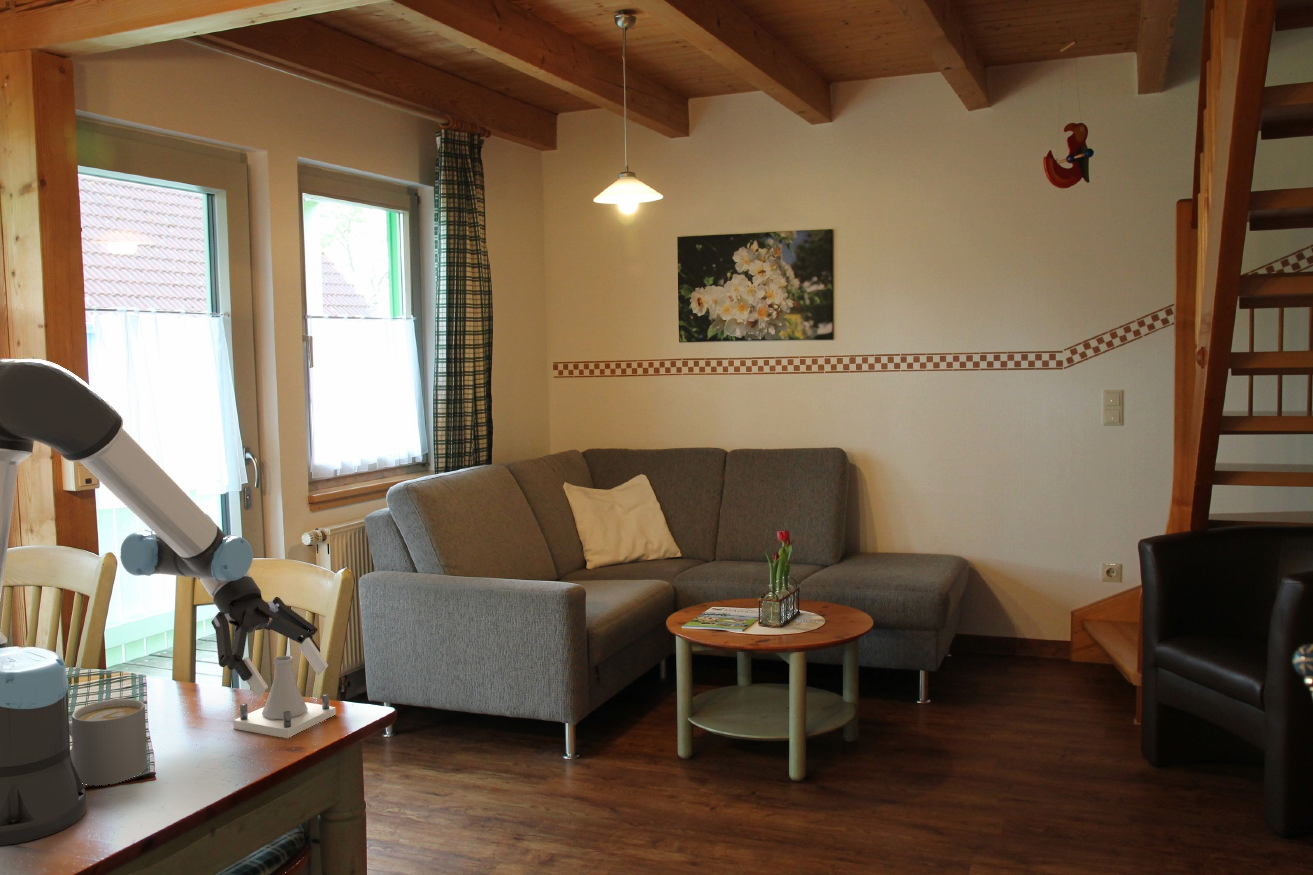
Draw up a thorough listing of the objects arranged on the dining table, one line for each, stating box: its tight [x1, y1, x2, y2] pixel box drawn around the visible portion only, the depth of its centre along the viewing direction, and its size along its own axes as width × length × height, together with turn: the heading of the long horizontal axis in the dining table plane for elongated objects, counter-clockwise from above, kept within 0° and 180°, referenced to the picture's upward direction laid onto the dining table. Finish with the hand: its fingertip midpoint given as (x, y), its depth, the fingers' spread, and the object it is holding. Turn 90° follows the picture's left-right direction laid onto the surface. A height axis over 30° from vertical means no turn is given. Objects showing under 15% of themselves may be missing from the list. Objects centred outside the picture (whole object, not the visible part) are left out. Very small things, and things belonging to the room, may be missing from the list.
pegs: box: [239, 693, 330, 728], centre depth 179 cm, size 11×11×2 cm
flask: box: [262, 655, 308, 719], centre depth 179 cm, size 7×7×10 cm
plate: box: [233, 701, 337, 739], centre depth 179 cm, size 12×12×2 cm
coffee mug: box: [69, 698, 148, 787], centre depth 157 cm, size 13×10×10 cm
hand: (294, 681), depth 178 cm, fingers open, 13 cm apart
